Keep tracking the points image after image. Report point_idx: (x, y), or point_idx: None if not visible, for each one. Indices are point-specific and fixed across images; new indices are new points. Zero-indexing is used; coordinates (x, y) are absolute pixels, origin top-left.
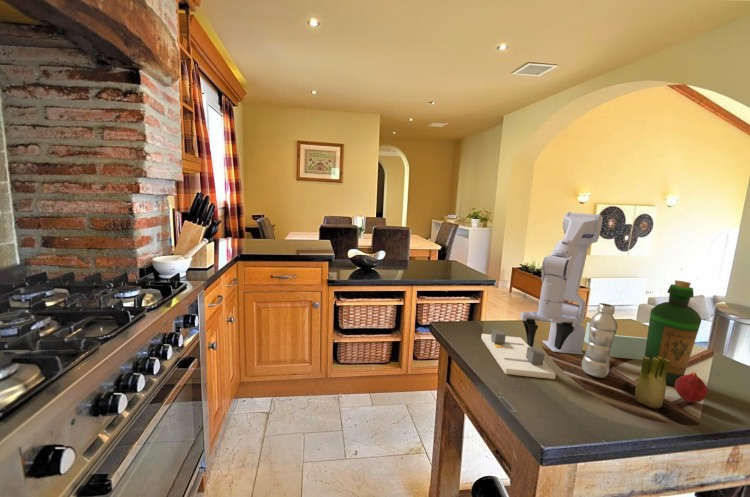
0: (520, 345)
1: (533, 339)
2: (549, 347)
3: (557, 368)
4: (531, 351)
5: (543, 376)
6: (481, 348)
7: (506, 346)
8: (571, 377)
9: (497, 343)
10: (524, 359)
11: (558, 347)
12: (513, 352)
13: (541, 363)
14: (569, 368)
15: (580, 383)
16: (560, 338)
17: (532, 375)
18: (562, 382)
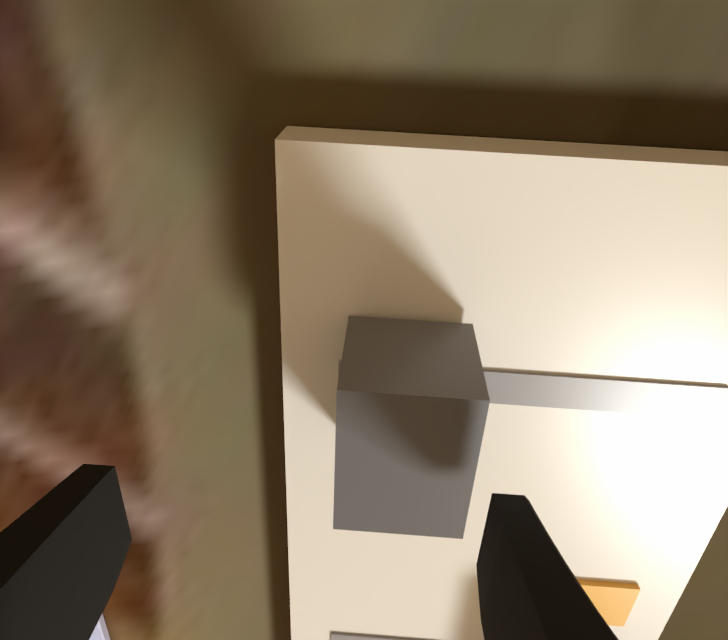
0: (366, 628)
1: (540, 596)
2: (104, 632)
3: (162, 351)
4: (478, 448)
5: (418, 135)
6: (710, 585)
7: None
8: (81, 194)
9: None
10: None
11: (99, 489)
12: None
13: (364, 322)
14: (43, 364)
15: (22, 69)
16: (1, 635)
17: (544, 143)
18: (230, 58)
